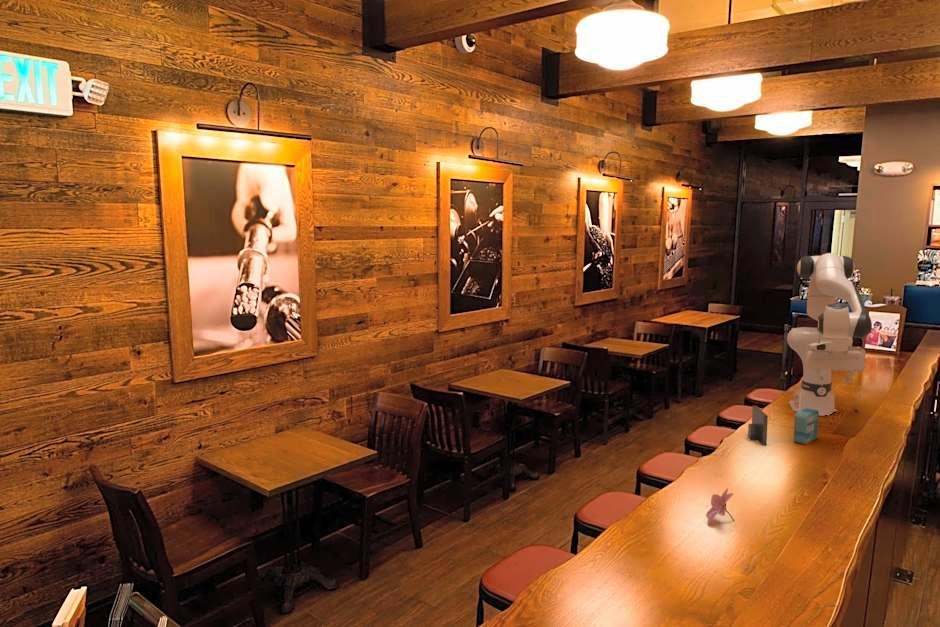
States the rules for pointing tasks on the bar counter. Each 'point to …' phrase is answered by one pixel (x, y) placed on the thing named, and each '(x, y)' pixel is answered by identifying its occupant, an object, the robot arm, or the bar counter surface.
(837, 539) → the bar counter surface
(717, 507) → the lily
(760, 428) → the bookend
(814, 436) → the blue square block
